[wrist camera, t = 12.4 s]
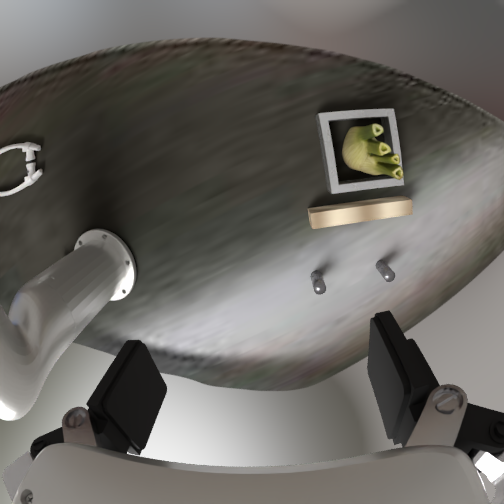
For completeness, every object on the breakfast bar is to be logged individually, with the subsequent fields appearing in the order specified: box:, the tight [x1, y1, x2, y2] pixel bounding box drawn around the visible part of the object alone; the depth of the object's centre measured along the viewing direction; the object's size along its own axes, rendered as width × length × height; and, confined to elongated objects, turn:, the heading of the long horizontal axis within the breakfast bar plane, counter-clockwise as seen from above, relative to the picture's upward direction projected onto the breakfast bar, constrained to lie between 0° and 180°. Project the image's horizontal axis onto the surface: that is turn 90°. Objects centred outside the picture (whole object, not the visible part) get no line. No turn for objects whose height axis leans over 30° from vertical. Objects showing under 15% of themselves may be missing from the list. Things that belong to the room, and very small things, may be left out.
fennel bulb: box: [342, 123, 403, 180], centre depth 28 cm, size 6×5×12 cm
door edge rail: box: [308, 196, 412, 229], centre depth 34 cm, size 14×2×3 cm, turn 101°
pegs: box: [311, 260, 395, 294], centre depth 37 cm, size 12×2×4 cm, turn 101°
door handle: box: [0, 142, 43, 196], centre depth 36 cm, size 3×10×25 cm
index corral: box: [315, 109, 404, 194], centre depth 32 cm, size 10×10×3 cm
